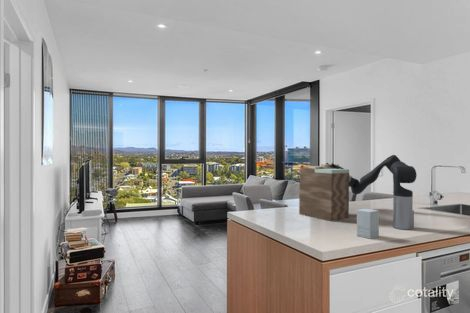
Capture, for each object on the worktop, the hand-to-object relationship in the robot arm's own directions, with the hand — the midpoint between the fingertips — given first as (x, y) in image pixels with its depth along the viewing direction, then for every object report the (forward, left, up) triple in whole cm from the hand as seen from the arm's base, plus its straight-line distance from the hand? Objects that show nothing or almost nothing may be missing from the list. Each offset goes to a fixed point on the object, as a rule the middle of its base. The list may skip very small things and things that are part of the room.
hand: (328, 164), depth 216 cm
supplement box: (+14, +60, -33) cm, 70 cm away
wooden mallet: (+4, +1, -3) cm, 5 cm away
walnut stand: (+10, +10, -33) cm, 36 cm away
